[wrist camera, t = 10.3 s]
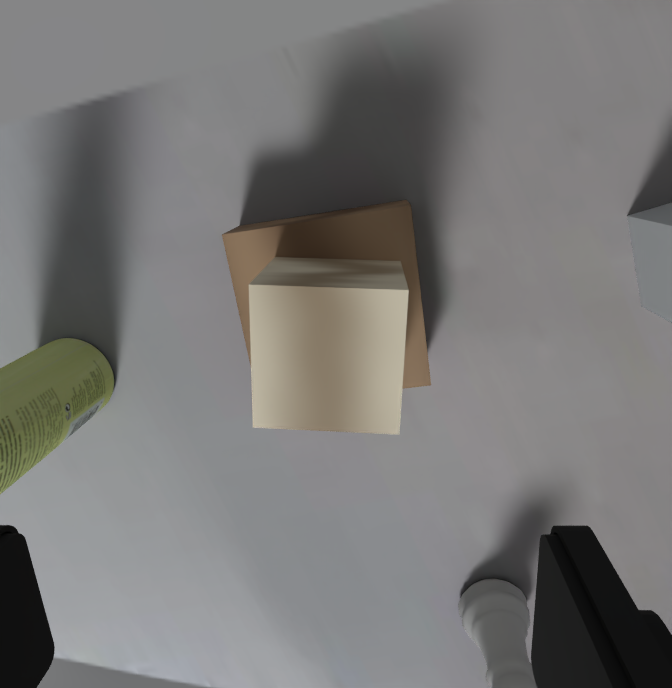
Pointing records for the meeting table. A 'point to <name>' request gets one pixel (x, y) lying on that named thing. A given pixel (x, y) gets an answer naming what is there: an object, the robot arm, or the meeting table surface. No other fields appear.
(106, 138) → the meeting table surface
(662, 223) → the grey block
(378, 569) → the meeting table surface
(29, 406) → the tube
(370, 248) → the walnut block
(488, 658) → the rook chess piece
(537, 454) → the meeting table surface
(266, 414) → the birch block
